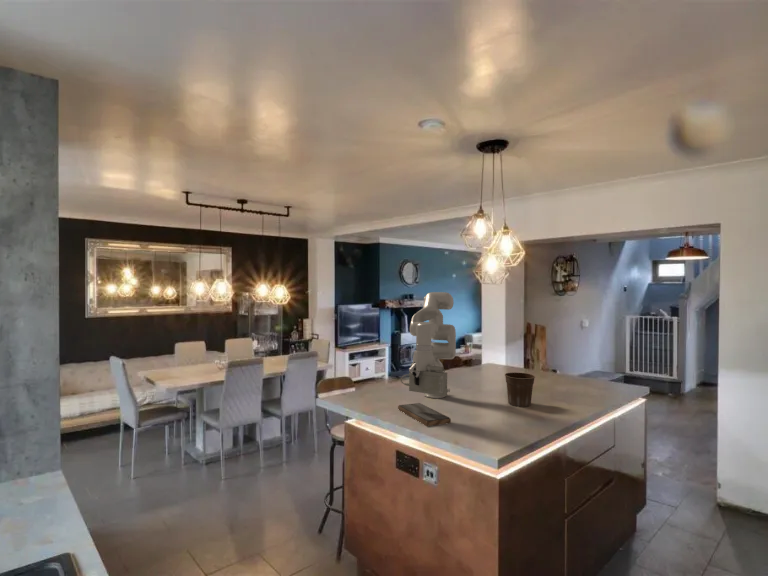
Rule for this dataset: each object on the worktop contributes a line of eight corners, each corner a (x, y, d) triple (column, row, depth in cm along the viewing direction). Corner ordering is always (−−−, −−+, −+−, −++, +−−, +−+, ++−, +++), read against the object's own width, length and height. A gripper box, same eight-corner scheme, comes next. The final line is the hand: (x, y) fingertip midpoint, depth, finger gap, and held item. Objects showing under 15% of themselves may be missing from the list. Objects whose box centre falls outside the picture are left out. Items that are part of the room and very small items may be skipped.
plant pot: (536, 409, 233) (537, 378, 233) (505, 407, 237) (505, 377, 237) (532, 401, 249) (533, 373, 249) (503, 399, 252) (503, 371, 253)
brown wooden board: (419, 407, 234) (420, 402, 234) (450, 423, 207) (450, 417, 207) (398, 409, 229) (398, 405, 229) (426, 426, 202) (426, 420, 202)
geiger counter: (448, 365, 214) (404, 361, 227) (443, 367, 208) (397, 362, 222) (448, 394, 214) (403, 388, 227) (443, 397, 208) (397, 390, 222)
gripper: (434, 346, 225) (434, 381, 225) (404, 348, 218) (404, 384, 218) (442, 348, 218) (442, 384, 218) (411, 349, 211) (411, 387, 211)
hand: (423, 384), depth 218 cm, fingers closed on geiger counter, 6 cm apart
